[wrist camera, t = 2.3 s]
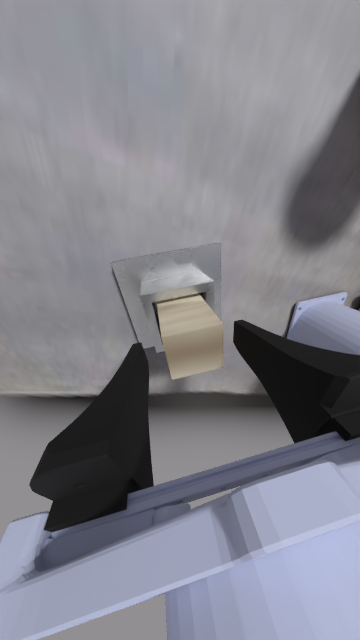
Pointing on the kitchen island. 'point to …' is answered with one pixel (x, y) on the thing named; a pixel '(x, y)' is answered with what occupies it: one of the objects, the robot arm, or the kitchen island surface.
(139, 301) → the stand
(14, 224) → the kitchen island surface
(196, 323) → the column
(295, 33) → the kitchen island surface
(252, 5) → the kitchen island surface
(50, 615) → the robot arm
